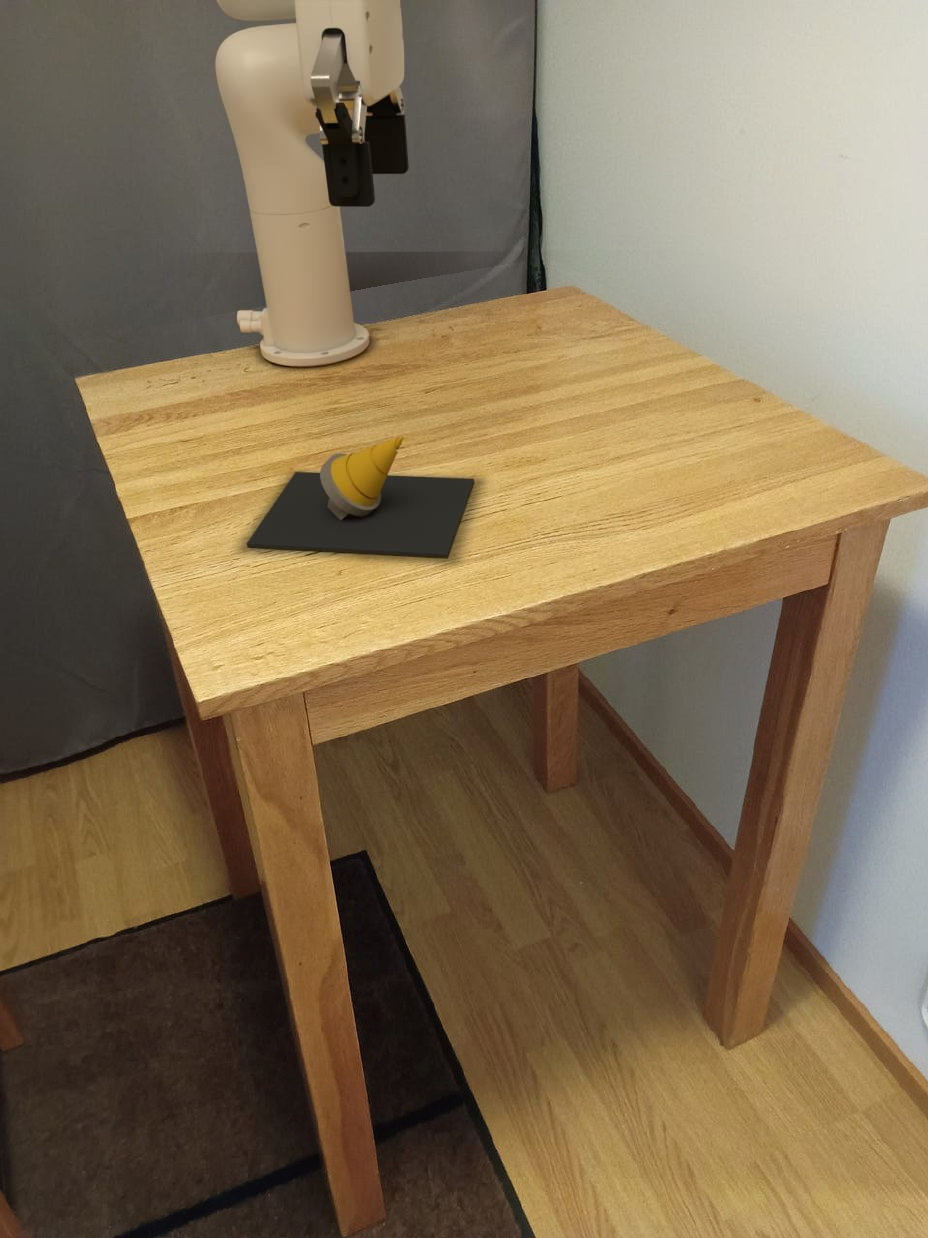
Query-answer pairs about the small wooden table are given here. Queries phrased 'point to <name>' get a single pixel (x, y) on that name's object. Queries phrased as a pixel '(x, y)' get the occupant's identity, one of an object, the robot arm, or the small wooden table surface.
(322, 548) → the mat
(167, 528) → the small wooden table surface
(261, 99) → the robot arm
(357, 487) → the yellow cone
